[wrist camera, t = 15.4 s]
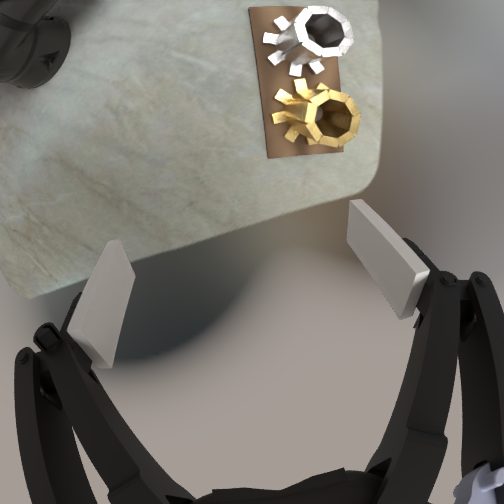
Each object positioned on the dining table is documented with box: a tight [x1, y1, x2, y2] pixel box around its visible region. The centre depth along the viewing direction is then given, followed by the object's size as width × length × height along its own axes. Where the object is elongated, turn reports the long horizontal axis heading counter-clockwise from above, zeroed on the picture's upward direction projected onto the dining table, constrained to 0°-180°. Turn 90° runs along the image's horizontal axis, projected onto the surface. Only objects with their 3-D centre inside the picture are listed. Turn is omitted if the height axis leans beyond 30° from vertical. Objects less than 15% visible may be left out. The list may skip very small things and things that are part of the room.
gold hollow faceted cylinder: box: [270, 79, 361, 147], centre depth 35 cm, size 11×11×13 cm
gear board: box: [249, 6, 344, 159], centre depth 36 cm, size 14×28×6 cm, turn 7°
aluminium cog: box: [262, 6, 354, 77], centre depth 29 cm, size 11×11×13 cm
